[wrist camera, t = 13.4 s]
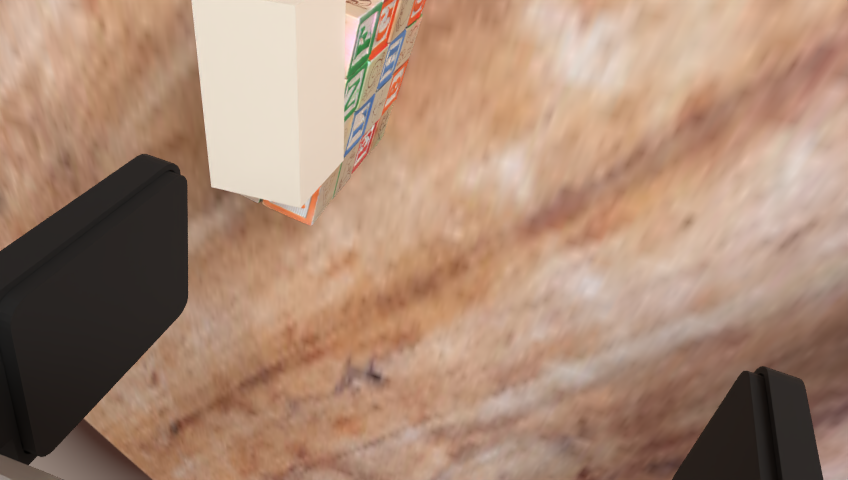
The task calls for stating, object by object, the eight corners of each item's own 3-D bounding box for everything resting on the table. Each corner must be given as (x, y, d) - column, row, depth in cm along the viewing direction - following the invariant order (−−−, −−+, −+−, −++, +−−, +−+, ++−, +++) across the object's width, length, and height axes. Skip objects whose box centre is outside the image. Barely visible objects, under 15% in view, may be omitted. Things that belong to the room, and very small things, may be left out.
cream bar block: (346, -24, 31) (295, 5, 27) (343, 160, 36) (300, 207, 32) (252, -39, 32) (190, -13, 28) (262, 142, 37) (211, 186, 33)
